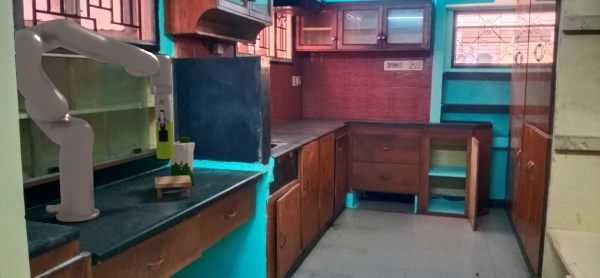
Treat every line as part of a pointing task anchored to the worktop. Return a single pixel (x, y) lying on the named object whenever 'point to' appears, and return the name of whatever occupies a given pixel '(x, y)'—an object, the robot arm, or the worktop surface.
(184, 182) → the stool
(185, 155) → the milk carton
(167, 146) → the soap dispenser
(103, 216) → the worktop surface
